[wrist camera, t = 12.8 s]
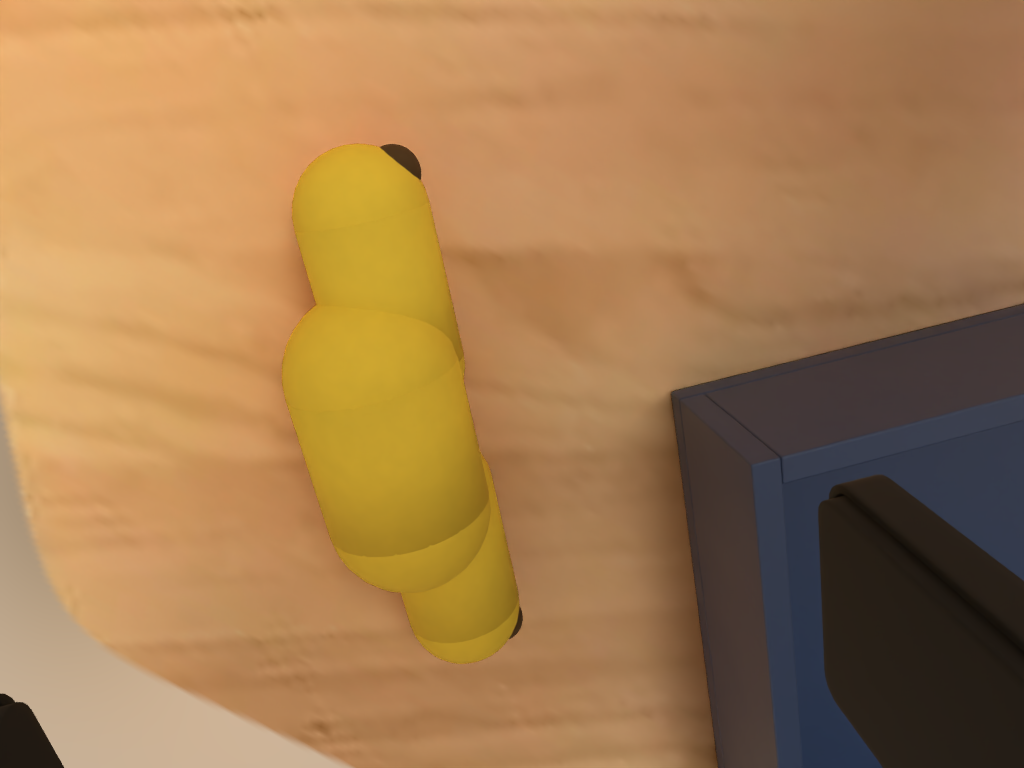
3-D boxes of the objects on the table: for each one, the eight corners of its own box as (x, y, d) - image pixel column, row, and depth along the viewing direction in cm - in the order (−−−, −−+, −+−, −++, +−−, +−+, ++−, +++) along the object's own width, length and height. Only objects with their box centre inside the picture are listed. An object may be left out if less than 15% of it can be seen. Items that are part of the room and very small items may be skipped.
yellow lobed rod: (231, 167, 17) (191, 179, 14) (410, 129, 18) (419, 131, 14) (379, 639, 22) (380, 744, 18) (518, 602, 22) (546, 698, 19)
